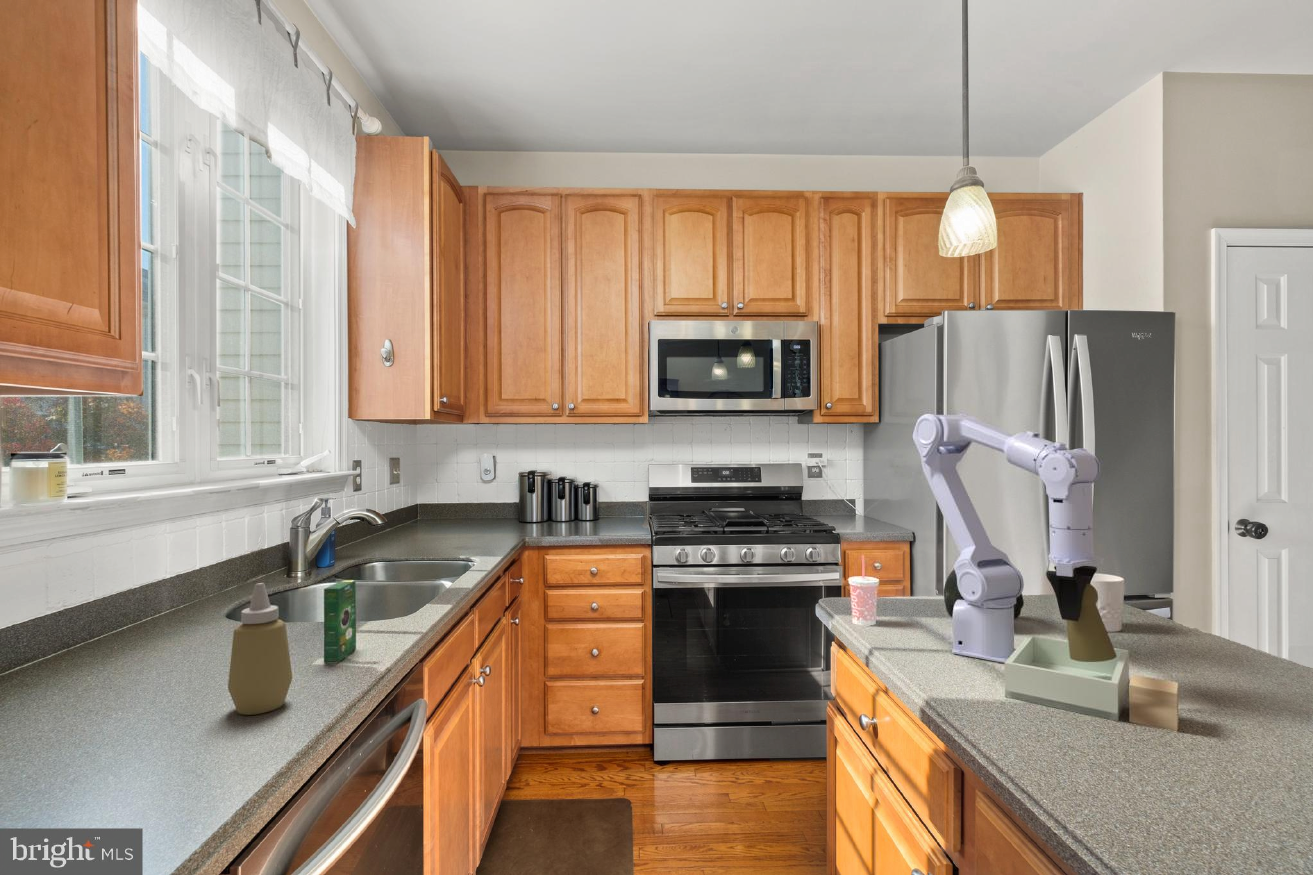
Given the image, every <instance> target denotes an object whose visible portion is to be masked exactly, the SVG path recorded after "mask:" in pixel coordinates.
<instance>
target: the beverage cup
mask: <svg viewBox="0 0 1313 875" xmlns="http://www.w3.org/2000/svg"><path fill="white" fill-rule="evenodd" d="M861 565H862V568H861V569H862V571H861V572H862V576H861V575H860V576H858V575H857V576H856V575H855V576H850V577H848V579H847V581H848V584H849V589H850V592H849V593H850V604H851V617H852V620H851V621H852V624H854V625H857V626H861V627H862V626H863V627H871V626H870V625H873V624H875V625H876V624H877V609H878V608H877V606H878V605H877V604H878V602H877V601H878V588H879V587H878V586H879V584H880V579H879V578H877V577H872V576H866V574H865V573H866V569H865V567H866V566H865V554H862V555H861ZM873 626H874V625H873Z"/></svg>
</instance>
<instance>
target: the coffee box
mask: <svg viewBox="0 0 1313 875" xmlns="http://www.w3.org/2000/svg"><path fill="white" fill-rule="evenodd" d="M356 594H357V592H356V580H355V579H346V580H345V579H343V580H340V581H338V582H335V583H334V584H331V585H330V586H327V587H325V588H323V664H326V663H328V664H329V663H330V664H338V663H340V662H341V661H344V659H345V658H346V657H348V656H349V655H350V654H352V653H353V652H354V651H355V650H356V649H357V614H356V613H357V609H356V608H357V606H356V605H357V604H356V601H357V598H356Z"/></svg>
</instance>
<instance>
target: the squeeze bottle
mask: <svg viewBox="0 0 1313 875" xmlns="http://www.w3.org/2000/svg"><path fill="white" fill-rule="evenodd" d="M240 617H241V618H240V620H241V624H240V625H238V626H237V627H236V628H234V629H233V636H232V645H231V653H230V663H229V672H228V683H227V690H228V692H229V695H230V697H231V700H232V703H233V705H234V707H235V709H236V712H237V713H238V714H240V713H241V714H240V715H249V716H250V715H259V714H264V713H268V712H272V711H274V710H277V709H279V708H280V707H282V706H283V705H284V704H285V702H286V698H287V695H288V693H289V689H290V686H291V683H292V680H293V673H292V672H293V671H292V663H291V656H290V648H289V638H288V631H287V625H286V623H285V622H284V621H283V620H282V619H278V618H279V606H278V605H274V604H273V605H272V604H271V603H270V599H269V596H268V591H267V587H266V585H265V583H264V582H259V583H255V584H254V587H253V592H252V597H251V601H250V605H249V607H248V608H244V609H243V610H241V612H240Z"/></svg>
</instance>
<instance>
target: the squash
mask: <svg viewBox="0 0 1313 875" xmlns="http://www.w3.org/2000/svg"><path fill="white" fill-rule="evenodd" d="M1023 596H1024V595H1023V592H1022V593H1021V595H1020V596H1018V597H1017V598H1016V604H1014V621H1015V620H1016V619H1018V618H1019V616H1020V615H1021V612H1022V609H1023V607H1024V605H1025V601H1024V597H1023ZM943 597H944V598H943V602H944V606H945V610H946V612H947V614H948V615H949V616H950V617H951V618H952V619H953V609H954V605H955V602H956V601H957V600H965V599H964V598H963V597H962V595H961V594H960V592H959V589H958V585H957V576H956V572H955V570H954V568H953V570H952V571H951V572H950V573H949V574H948V576H947V578H946V581H945V583H944V587H943Z"/></svg>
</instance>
